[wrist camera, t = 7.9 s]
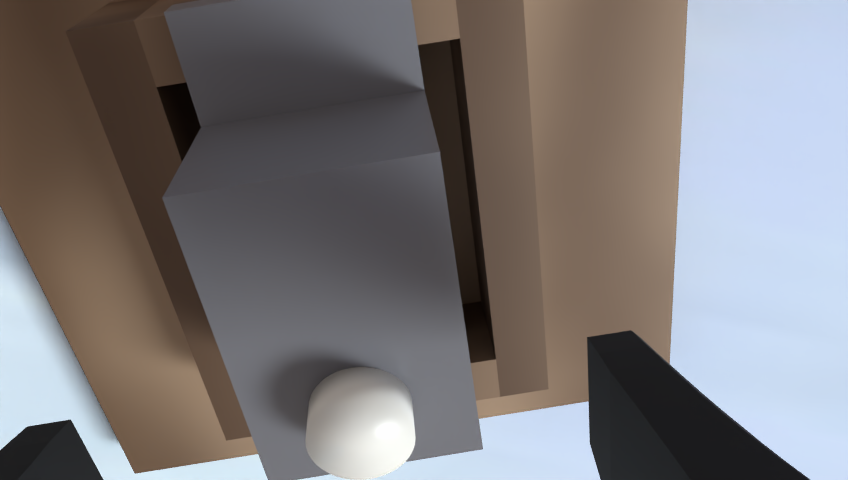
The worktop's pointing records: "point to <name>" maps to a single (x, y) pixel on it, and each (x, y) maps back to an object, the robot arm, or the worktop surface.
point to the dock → (463, 176)
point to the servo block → (323, 233)
